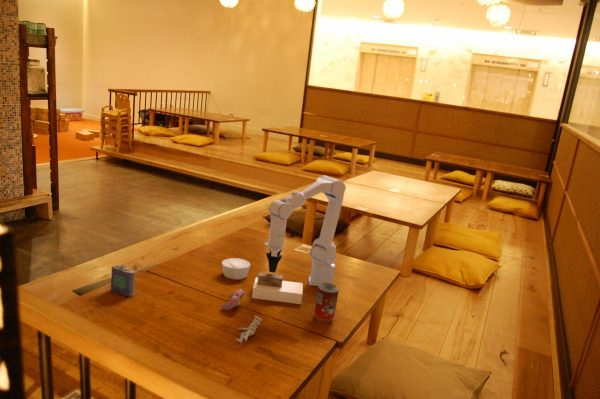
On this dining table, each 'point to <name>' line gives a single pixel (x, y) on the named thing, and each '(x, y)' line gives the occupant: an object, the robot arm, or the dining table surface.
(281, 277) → the rail end
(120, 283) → the flask
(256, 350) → the dining table surface
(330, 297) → the soda can
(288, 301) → the white rectangular box
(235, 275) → the ramekin
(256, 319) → the soldier figure
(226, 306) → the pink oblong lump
